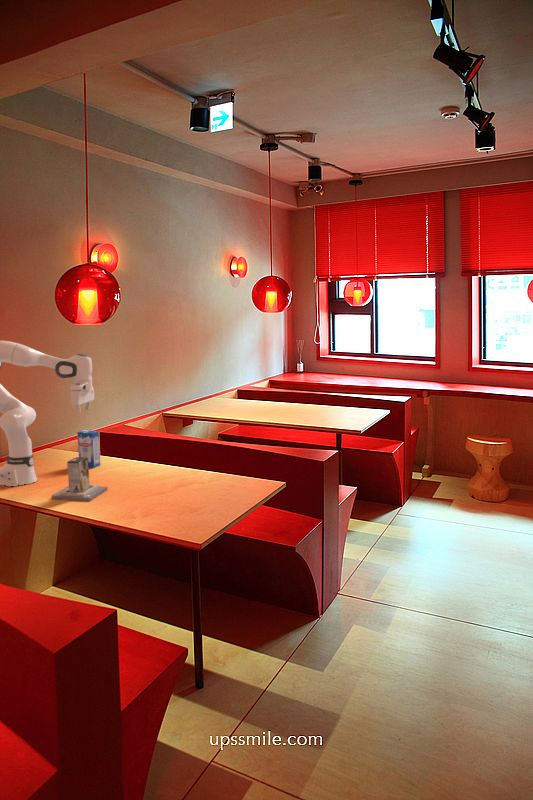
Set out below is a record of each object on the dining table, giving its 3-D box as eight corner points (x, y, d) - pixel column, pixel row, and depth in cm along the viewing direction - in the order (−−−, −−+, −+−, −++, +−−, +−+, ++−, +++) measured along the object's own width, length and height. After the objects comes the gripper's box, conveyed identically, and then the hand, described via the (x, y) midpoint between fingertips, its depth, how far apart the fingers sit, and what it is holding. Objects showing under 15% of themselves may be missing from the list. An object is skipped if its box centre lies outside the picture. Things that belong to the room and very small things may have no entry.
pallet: (51, 498, 293) (51, 493, 292) (70, 487, 310) (70, 482, 310) (90, 501, 289) (90, 495, 288) (107, 489, 306) (107, 484, 306)
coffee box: (78, 488, 304) (76, 456, 301) (90, 489, 302) (88, 457, 300) (68, 494, 295) (66, 461, 292) (81, 494, 294) (79, 462, 291)
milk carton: (79, 466, 349) (77, 432, 346) (85, 463, 355) (83, 430, 352) (94, 468, 346) (92, 433, 343) (100, 465, 352) (98, 431, 349)
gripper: (86, 382, 330) (86, 408, 331) (68, 386, 310) (68, 413, 311) (97, 383, 329) (97, 408, 331) (80, 387, 309) (80, 414, 311)
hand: (83, 411), depth 321 cm, fingers open, 8 cm apart
